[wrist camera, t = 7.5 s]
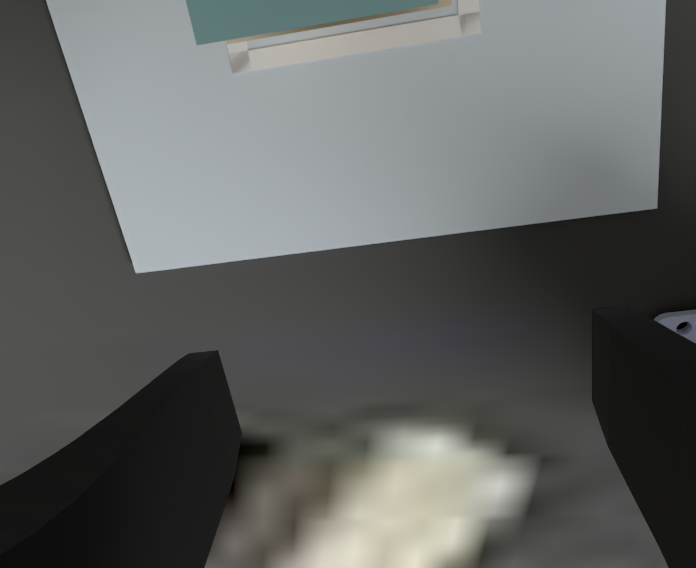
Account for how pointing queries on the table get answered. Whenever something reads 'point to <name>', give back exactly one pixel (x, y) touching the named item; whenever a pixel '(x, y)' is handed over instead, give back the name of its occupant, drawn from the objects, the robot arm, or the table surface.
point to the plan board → (365, 123)
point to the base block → (342, 22)
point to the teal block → (279, 15)
